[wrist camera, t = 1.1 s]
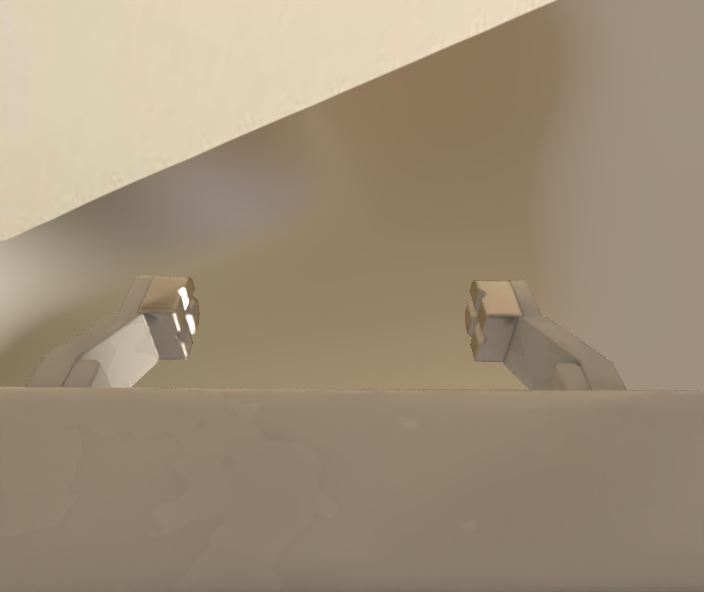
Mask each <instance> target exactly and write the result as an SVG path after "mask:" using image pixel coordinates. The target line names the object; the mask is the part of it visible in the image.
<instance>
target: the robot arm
mask: <svg viewBox="0 0 704 592" xmlns="http://www.w3.org/2000/svg"><path fill="white" fill-rule="evenodd" d="M194 289H195V287H194V284H193V280H192V279H191V278H190V277H168V276H167V277H166V276H137V277H136V278H135V279H134V281H133V283H132V284H131V287H130V289H129V290H128V292H127V295H126V297H125V299H124V301H123V302H122V304H121V306H120V308H119V310H118V312H117V313H112V314H110V315H108V316H107V317H105V318H104V319H102V320H101V321H99V322H97V323H96V324H94V325H93V326H91V327H90V328H88V329H86V330H85V331H83V332H82V333H80V334H79V335H77V336H76V337H74V338H72V339H71V340H69V341H68V342H66V343H65V344H63V345H62V346H60V347H58V348H57V349H55V350H54V351H52V352H51V353H49V354H48V355H46V356H44V357H43V358H42V359H41V360H40V362H39V363H38V365H37V367H36V368H35V370H34V372H33V373H32V375H31V377H30V378H29V380H28V381H27V383H26V385H25V386H24V387H0V592H704V391H699V390H696V391H695V390H692V391H690V390H689V391H688V390H687V391H686V390H627V389H626V387H625V385H624V383H623V381H622V379H621V377H620V375H619V374H618V372H617V370H616V368H615V366H614V364H613V362H611V361H610V360H608V359H607V358H606V357H604V356H603V355H601V354H600V353H598V352H597V351H596V350H594V349H593V348H591V347H590V346H588V345H587V344H586V343H584V342H583V341H581V340H580V339H578V338H577V337H575V336H574V335H573V334H571V333H570V332H568V331H567V330H565V329H564V328H563V327H561V326H560V325H558V324H557V323H555V322H554V321H553V320H551V319H550V318H548V317H543V316H542V314H541V312H540V310H539V307H538V305H537V303H536V301H535V299H534V297H533V294H532V292H531V290H530V287H529V285H528V283H527V281H525V280H507V281H500V280H494V281H493V280H492V281H491V280H481V281H480V280H474V281H473V282H472V285H471V289H470V293H471V297H472V299H471V300H470V301H468V302H467V307H466V312H465V323H466V329H467V333H468V334H469V335H470V336H471V337H472V340H471V344H470V345H471V349H472V352H473V356H474V359H475V361H483V362H504V364H505V365H506V367H507V368H508V369H509V370H510V371H511V372H512V373H513V374H514V375H515V376H516V377H517V378H518V379H519V380H520V381H521V382H522V383H523V384H524V385H525V386H526V387H527V388H528V389H529V390H476V389H472V390H471V389H470V390H469V389H466V390H465V389H279V388H278V389H276V388H274V389H272V388H270V389H269V388H267V389H266V388H131V387H132V386H133V385H134V384H135V383H136V382H137V381H138V380H139V379H140V378H141V377H142V376H143V375H144V374H145V373H146V372H148V371H149V370H150V369H151V368H152V367H153V366H154V365H155V364H156V363H157V362H158V360H176V359H177V360H178V359H188V357H189V354H190V350H191V347H192V344H193V340H192V336H191V335H192V334H194V333H195V332H196V331H197V328H198V324H199V315H200V314H199V305H198V300H197V299H196V298H195V297H194V296H192V295H193V292H194Z"/></svg>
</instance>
